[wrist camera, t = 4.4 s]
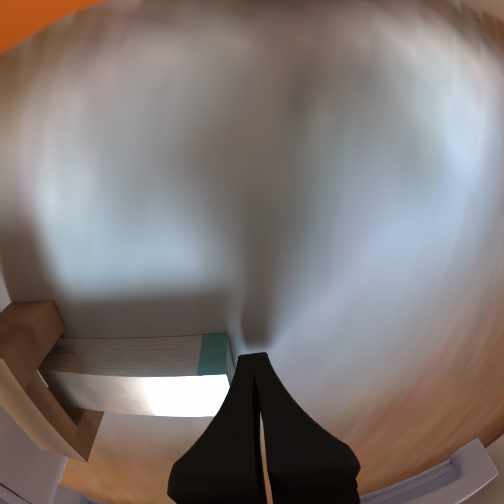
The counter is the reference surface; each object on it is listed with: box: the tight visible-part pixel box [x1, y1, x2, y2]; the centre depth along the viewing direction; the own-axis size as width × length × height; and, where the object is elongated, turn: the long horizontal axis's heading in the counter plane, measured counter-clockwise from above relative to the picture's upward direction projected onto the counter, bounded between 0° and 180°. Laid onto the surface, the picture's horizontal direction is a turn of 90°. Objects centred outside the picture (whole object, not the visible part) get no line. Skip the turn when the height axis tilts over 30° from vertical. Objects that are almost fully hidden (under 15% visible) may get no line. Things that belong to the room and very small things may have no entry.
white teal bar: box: [38, 333, 235, 416], centre depth 12 cm, size 10×3×3 cm, turn 96°
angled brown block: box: [0, 300, 104, 462], centre depth 11 cm, size 4×8×5 cm, turn 6°
